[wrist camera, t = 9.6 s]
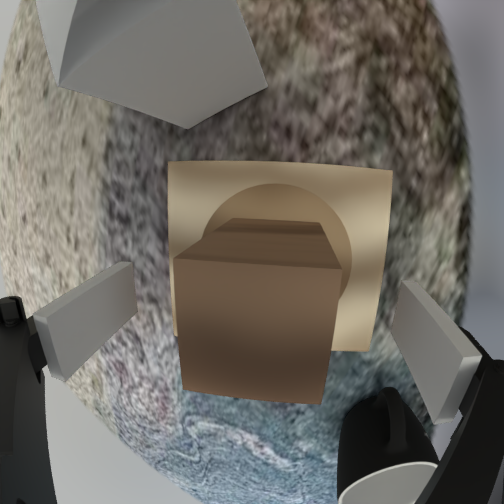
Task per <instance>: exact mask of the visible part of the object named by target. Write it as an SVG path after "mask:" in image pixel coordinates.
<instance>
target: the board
mask: <svg viewBox="0 0 504 504" xmlns="http://www.w3.org/2000/svg"><path fill="white" fill-rule="evenodd" d="M392 175H393V171H390V170H382V169H373V168H363V167H352V166H341V165H328V164H314V163H296V162H273V161H169V162H168V240H169V267H170V286H171V302H172V316H173V328H174V336H178V335H177V323H176V309H175V293H174V274H173V258H174V257H176V256H177V255H178V254H180V253H181V252H183V251H184V250H186V249H187V248H189V247H190V246H192V245H193V244H195V243H196V242H198V241H199V240H200V239H202V238H203V237H205V236H206V235H208V234H209V233H211V232H212V231H214V230H215V229H217V228H218V227H220V226H221V225H223V224H224V223H226V222H227V221H229V220H230V219H232V218H246V219H266V220H285V221H302V222H318V223H320V224H321V226H322V228H323V230H324V232H325V234H326V236H327V238H328V240H329V242H330V244H331V246H332V249H333V251H334V253H335V255H336V257H337V259H338V261H339V263H340V265H341V268H342V278H341V286H340V294H339V302H338V309H337V316H336V323H335V330H334V336H333V342H332V348H331V351H369V347H370V342H371V338H372V333H373V328H374V323H375V318H376V313H377V307H378V302H379V296H380V290H381V284H382V277H383V270H384V263H385V255H386V247H387V239H388V229H389V219H390V207H391V193H392Z"/></svg>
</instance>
